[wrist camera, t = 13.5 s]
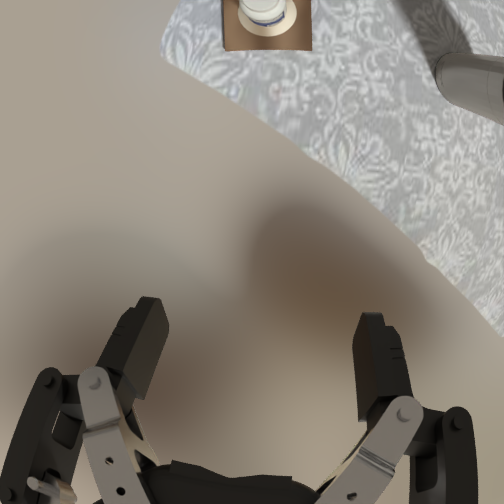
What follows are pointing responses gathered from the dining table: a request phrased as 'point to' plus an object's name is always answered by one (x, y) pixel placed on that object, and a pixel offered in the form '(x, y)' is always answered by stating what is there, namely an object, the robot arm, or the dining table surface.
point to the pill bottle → (264, 11)
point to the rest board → (268, 29)
